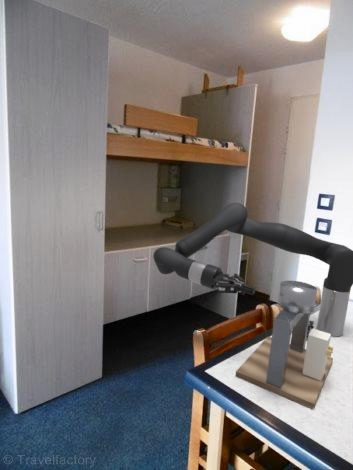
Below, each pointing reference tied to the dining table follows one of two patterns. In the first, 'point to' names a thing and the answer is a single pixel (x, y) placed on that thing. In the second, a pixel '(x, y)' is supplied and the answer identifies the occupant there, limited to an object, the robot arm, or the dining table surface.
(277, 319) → the grey two-legged stand
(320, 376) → the plug
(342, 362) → the dining table surface
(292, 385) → the track board
